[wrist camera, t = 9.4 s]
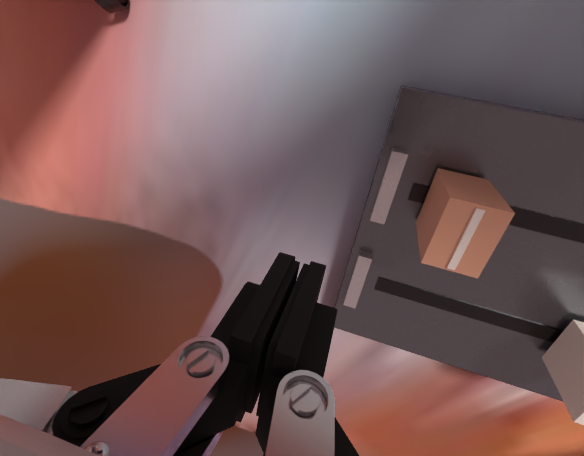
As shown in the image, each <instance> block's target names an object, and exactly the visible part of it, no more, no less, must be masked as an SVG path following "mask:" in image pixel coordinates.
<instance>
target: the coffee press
mask: <svg viewBox="0 0 584 456" xmlns="http://www.w3.org/2000/svg"><path fill="white" fill-rule="evenodd" d="M95 1H96V2H97V3H98V4H99V5H100V6H101V7H102V8H104V9H105V10H106V11H107V12H109V13H114V12H117V11H120V10H123V9H126V8H128V7H129V5H130V1H129V0H95Z"/></svg>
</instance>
